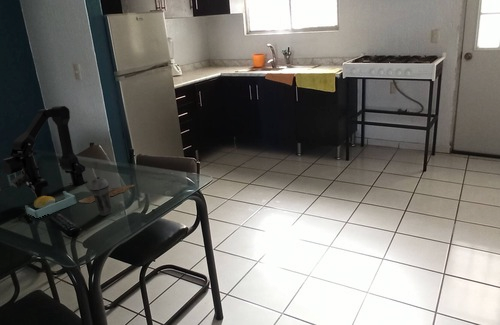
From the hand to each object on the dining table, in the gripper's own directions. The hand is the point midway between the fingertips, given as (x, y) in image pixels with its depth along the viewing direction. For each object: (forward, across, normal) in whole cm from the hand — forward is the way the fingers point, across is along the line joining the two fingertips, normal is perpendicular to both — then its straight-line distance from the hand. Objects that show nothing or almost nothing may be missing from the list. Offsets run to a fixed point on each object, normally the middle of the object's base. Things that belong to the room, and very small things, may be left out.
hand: (38, 198), depth 187 cm
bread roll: (+2, +5, 0) cm, 6 cm away
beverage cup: (+2, +41, +10) cm, 43 cm away
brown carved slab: (+2, +22, +22) cm, 31 cm away
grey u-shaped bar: (+2, +13, 0) cm, 13 cm away
